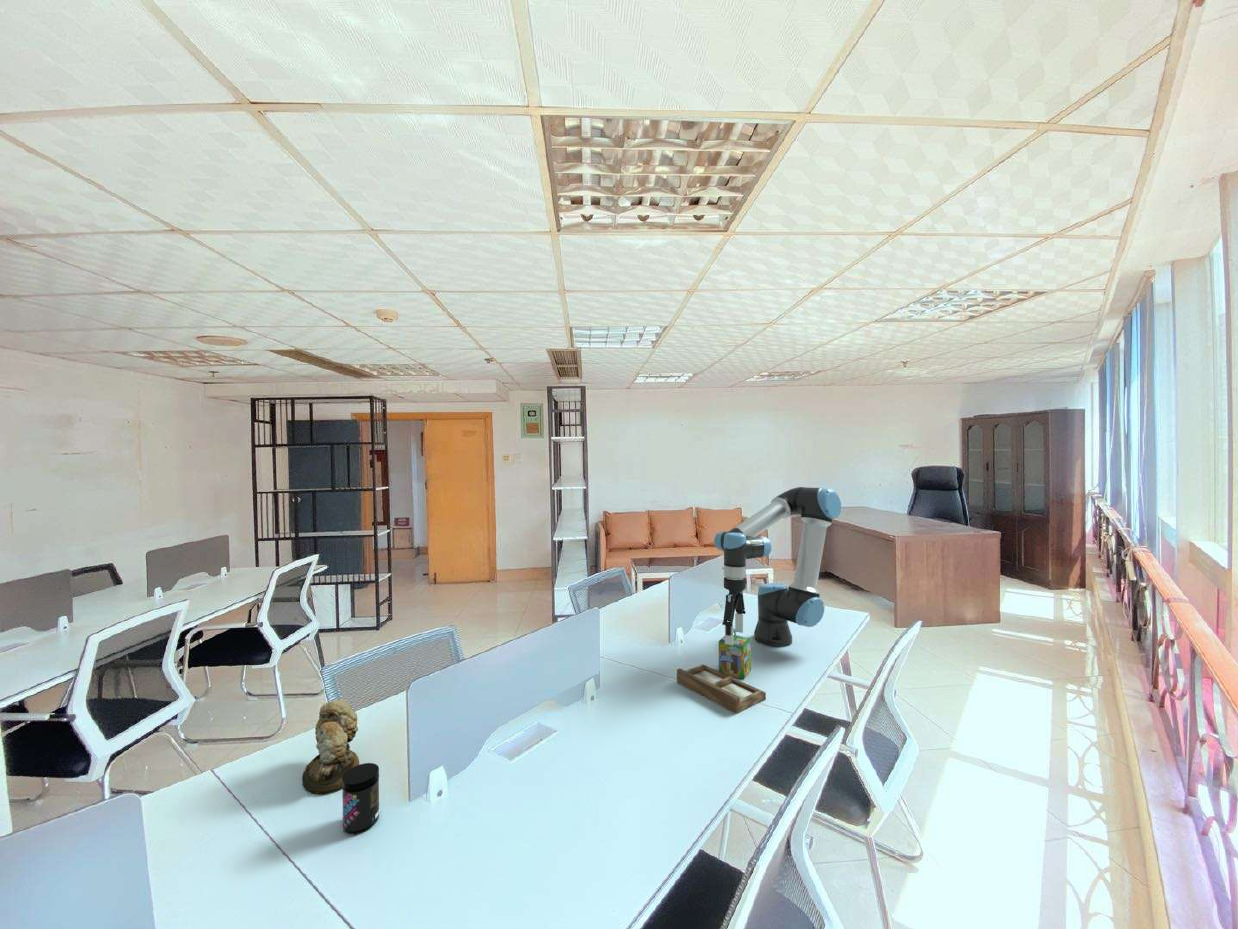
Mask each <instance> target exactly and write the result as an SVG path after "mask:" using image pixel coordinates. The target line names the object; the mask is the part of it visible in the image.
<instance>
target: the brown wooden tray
mask: <svg viewBox="0 0 1238 929" xmlns="http://www.w3.org/2000/svg"><path fill="white" fill-rule="evenodd" d="M676 684H678V685H680V686H682V687H684V688H685V689H688V690H690V691H692V692H694V693H696V694H697V695H699V696H701V697H703V698H705V699H707V700H709V701H711V702H713V703H715V704H716V705H718V706H720V707H722V708H724V709H726V710H727V711H729V712H732V713H733V712H734V713H733V714H735V713H736V714H735V715H737V714H740V713H742V712H743V711H745V710H748V709H749V708H752V707H753V706H755V705H758V704H759V703H761V702H763V701H766V699H767V697H766V696H767V692H766V691H764V690H762V689H759V688H757V687H755V686H752V685H750V684H748V683H746V682H743V681H741V680H739V679H738V678H736V677H732V676H728V675H726V674H724V673H722V672H719V670H717V669H714V668H712V667H710V666H708V665H705V664H699V665H697V666H694V667H692V668H689V669H685V670H684V669H682V668H677V669H676Z"/></svg>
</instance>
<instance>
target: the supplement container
mask: <svg viewBox="0 0 1238 929" xmlns="http://www.w3.org/2000/svg"><path fill="white" fill-rule="evenodd" d="M341 791H342V794H341V795H342V796H341V798H342V829H343V831H344V832H345V833H346V834H349V835H357V834H362V833H365V832H366V831H369V830H370V829H371V828H372V827H373V826H374V825H375V824H376V823H377V821H378V820H379V817H380V768H379V765H378V764H377V763H373V762H367V763H366V762H365V763H361V764H360V763H359V765H357V766H355V767H353V768H351V769H349V770H348V771H347V772H345V774H344V775H343V777H342V789H341Z"/></svg>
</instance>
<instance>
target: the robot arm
mask: <svg viewBox="0 0 1238 929" xmlns="http://www.w3.org/2000/svg"><path fill="white" fill-rule="evenodd" d="M841 502H842V501H841V498H840V497H839V495H838V493H837V492H836V490H834V489H832V488H826V487H809V486H807V487H805V486H797V487H794V488H790V489H788V490H786V491H784V492H782V493H780V494H778V495H777V496H775V497H773V498H772V499H771V502H770V503H769V504H767V505H766V506H765V507H763V508H761V509H760V510H759V511H757V512H756V513H754V514H752V515H751V516H749V517H748V518H747V519H744V521H742V522H741V523H739V524H738V525H735V527H733V528H731V529H730V530H729V531H725V530H724V531H718V532H717V533H715V536H714V537H713V539H714V540H713V543H714V547H715V548H716V549H717V550H719V551H722V552H723V566H722V568H721V569H722V570H723V576H724V577H723V588H724V589H725V590H727V591H728V593H727V594H726V595H725V605H724V610H723V611H724V612H723V613H724V614H723V620H722V621H723V622H722V625H723V626H724V636H725V644H728V645H733V635H734V632H733V628H734V629H735V632H736V633H739V634H740V633H741V634H744V615H746V613H747V612H746V609H745V600H744V592H743V591H745V590H746V585H747V584H746V581H747V579H746V577H747V576H746V574H747V572H746V570H747V568H746V567H747V560H750V559H751V560H752V559H758V558H759V559H761V558H765V557H768V556H769V555H770V554H771V552H772V543H771V541H770V540H769V538H768V537H766V536H759V535H760V534H762V533H763V532H765V531H766V530H767V529H769V528H770V527H772V526H773V525H775V524H776V523H777V522H779V521H781V520H782V519H784V520H786V519H787V518H790V517H791V516H798V515H799V516H800V520H801V522H803V527H802V533H801V538H800V543H799V550H798V555H797V561H796V567H795V572H794V576H793V577H794V578H793V582H792V583H791V584H789V585H787V584H786V583H783V582H781V583H780V582H769V583H763V584H760V585H759V586H758V588H757V590H758V591H757V622H756V625H755V628H754V631H753V639H754V641H756V642H757V643H759V644H761V645H763V646H764V645H765V646H769V647H779V648H780V647H786V646H788V647H789V646H790V645H792V644H793V635H792V633H791V628H790V625H789V622H791V623H793V624H796V625H797V626H803V627H805V628H813V627H815V626H816V625H817V624H819V623H820V622H821V620H822V619H823V617H824V614H825V608H826V607H825V605H824V604H825V603H824V601H823V600H822V599H821V597H820V596H821V593H820V591H819V590H818V588H817V587H818V584H819V583H818V582H819V576H820V570H821V565H822V559H823V558H822V557H823V552H824V546H825V542H826V541H825V540H826V536H827V529H828V527H830V526H831V525H832V524H833V520H834V519H837V518H838V517H839V516H840V514H841V512H842V503H841ZM734 618H735V619H734ZM734 620H735V622H734Z"/></svg>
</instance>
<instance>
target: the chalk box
mask: <svg viewBox="0 0 1238 929" xmlns="http://www.w3.org/2000/svg"><path fill="white" fill-rule="evenodd" d="M751 640H752V639H751V638H750V637H745V636H742V635H737V632H735V627H733V645H728V644H725V635H724V636H723V637H721V638H720V639H719V640H718V671H719V672H722V673H724V674H726V675H728V676H730V677H733V678H736V679H741V680H745V678H746V677H747V676H748V675H749V673H750V672H751V671H752V645H751V644H752V643H751V642H752V641H751Z"/></svg>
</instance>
